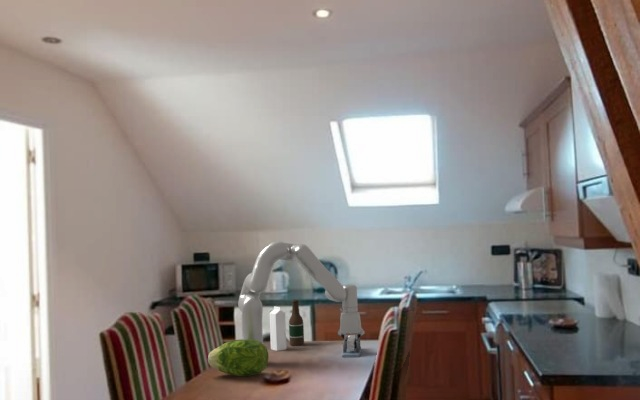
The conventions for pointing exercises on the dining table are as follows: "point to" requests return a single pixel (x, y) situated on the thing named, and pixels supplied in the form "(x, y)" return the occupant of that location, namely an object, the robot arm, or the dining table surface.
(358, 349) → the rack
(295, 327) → the beer bottle
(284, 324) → the milk
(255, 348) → the lettuce
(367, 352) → the dining table surface
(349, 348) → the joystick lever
